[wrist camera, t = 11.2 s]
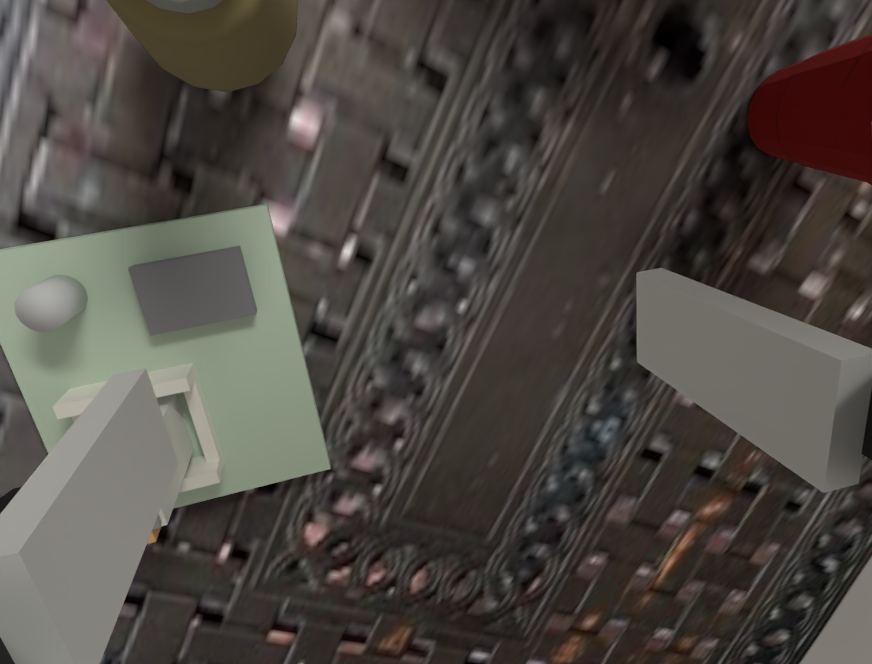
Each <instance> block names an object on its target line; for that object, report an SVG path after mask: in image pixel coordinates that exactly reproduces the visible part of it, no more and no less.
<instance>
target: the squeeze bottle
mask: <svg viewBox="0 0 872 664" xmlns="http://www.w3.org/2000/svg"><path fill="white" fill-rule="evenodd" d="M107 2H108V3H109V4H110V6H111V7H112V8H113V9H114V11H115V12H116V13H117V15H118V16H119V17H120V18H121V20H122V21H123V22H124V24H125V25H126V26H127V27H128V29H129V30H130V31H131V33H132V34H133V35H134V36H135V38H136V39H137V40H138V41H139V43H140V44H141V45H142V46H143V47H144V48H145V49H146V51H147V52H148V53H149V54H150V55H151V56H152V57H153V59H154V60H155V61H156V62H157V63H158V64H159V65H160V67H161V68H162V69H164V70H165V71H167V72H169V73H171V74H172V75H174V76H176V77H178V78H180V79H181V80H183V81H185V82H187V83H188V84H190V85H192V86H194V87H198V88H205V89H211V90H218V91H224V92H230V91H234V90H238V89H241V88H245V87H249V86H253V85H257V84H259V83H260V82H261V81H263V80H264V79H265V78H266V77H267V76H269V75H270V74H271V73H272V72H273V71H275V70H276V69H277V68H278V67H279V66H281V65H282V64H283V62H284V59H285V57H286V55H287V53H288V51H289V49H290V47H291V45H292V43H293V40H294V38H295V36H296V29H297V10H298V0H107Z"/></svg>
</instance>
